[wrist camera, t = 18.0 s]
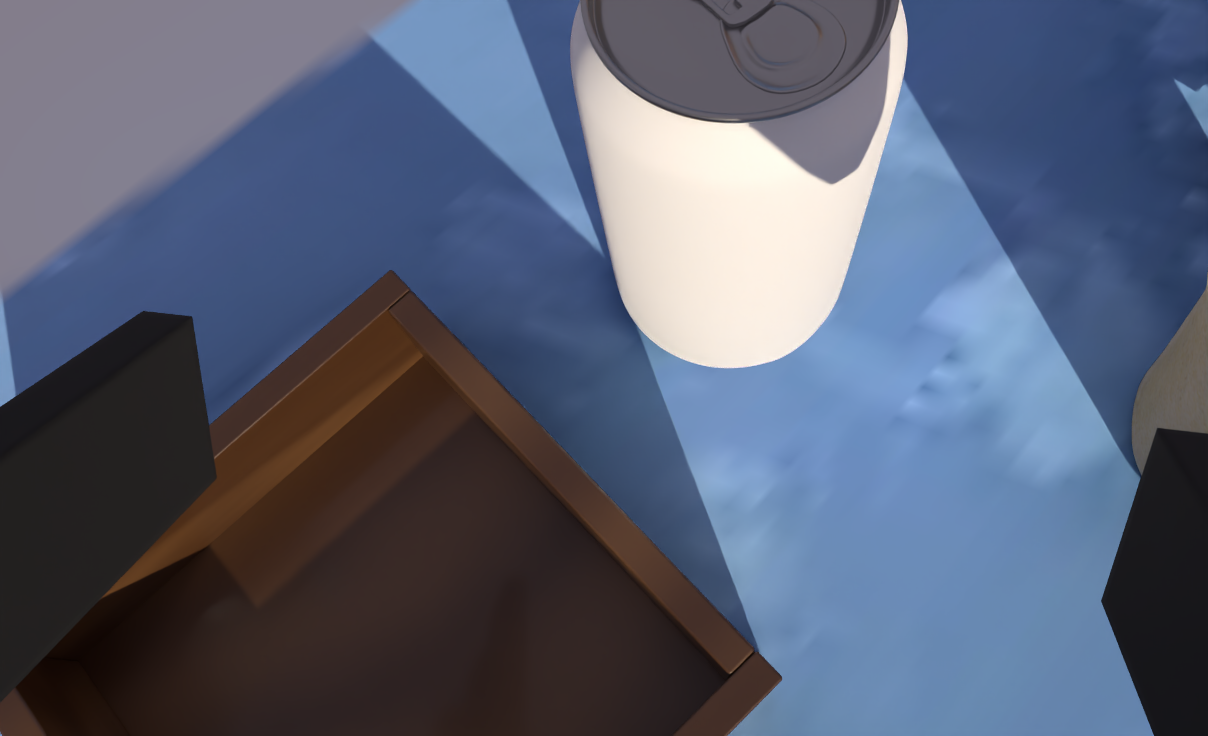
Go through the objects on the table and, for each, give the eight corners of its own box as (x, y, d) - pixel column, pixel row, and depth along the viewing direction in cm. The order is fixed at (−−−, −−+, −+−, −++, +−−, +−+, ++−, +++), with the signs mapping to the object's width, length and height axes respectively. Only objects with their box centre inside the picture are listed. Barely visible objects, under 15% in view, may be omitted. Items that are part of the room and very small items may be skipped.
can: (712, 420, 28) (712, 214, 17) (570, 255, 30) (485, -28, 19) (891, 280, 29) (1008, -7, 17) (742, 128, 31) (759, -217, 19)
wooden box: (50, 659, 28) (-55, 649, 24) (431, 326, 30) (390, 268, 26) (355, 1109, 23) (286, 1183, 20) (773, 684, 26) (783, 678, 22)
